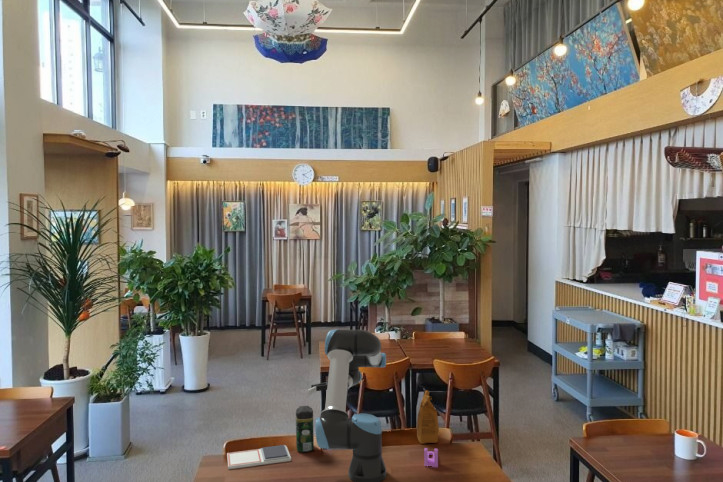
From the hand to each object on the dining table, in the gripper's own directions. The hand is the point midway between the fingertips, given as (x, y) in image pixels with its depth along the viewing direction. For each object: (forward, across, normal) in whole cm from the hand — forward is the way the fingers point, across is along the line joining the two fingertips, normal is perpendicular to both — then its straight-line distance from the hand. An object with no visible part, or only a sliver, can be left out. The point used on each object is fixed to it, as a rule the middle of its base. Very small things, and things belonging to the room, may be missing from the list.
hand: (320, 394), depth 240 cm
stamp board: (+31, +12, -20) cm, 39 cm away
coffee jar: (+13, 0, -21) cm, 25 cm away
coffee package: (-21, -46, -21) cm, 55 cm away
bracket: (-1, -55, -21) cm, 59 cm away
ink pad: (+26, +7, -19) cm, 33 cm away
